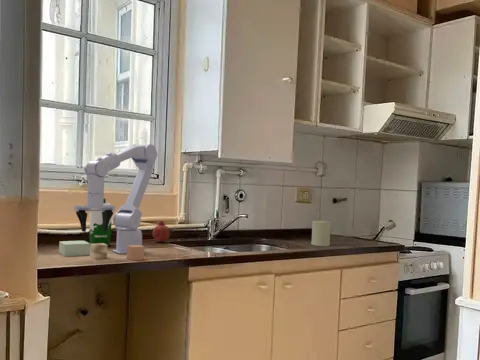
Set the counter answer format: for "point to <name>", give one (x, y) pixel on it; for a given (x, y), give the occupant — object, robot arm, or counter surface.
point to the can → (321, 233)
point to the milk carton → (99, 227)
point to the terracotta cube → (135, 252)
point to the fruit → (161, 232)
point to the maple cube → (98, 250)
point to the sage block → (74, 248)
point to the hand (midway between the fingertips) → (94, 231)
